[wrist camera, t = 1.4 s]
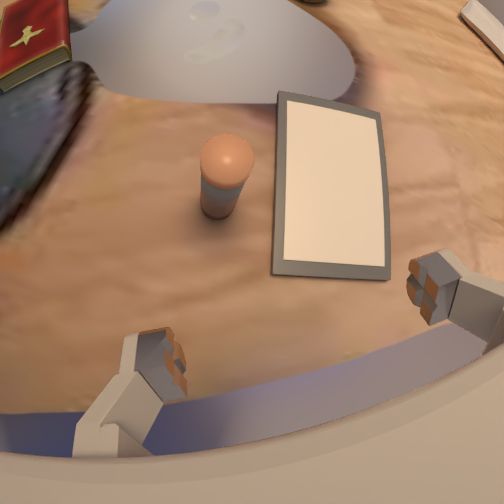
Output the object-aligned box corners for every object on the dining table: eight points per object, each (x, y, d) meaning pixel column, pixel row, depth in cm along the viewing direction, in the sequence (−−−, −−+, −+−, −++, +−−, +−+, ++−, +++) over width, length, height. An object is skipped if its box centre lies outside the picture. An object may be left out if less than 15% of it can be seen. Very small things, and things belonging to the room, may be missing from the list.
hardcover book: (69, -8, 35) (64, -23, 31) (74, 61, 34) (66, 43, 30) (11, 20, 33) (3, 6, 29) (3, 97, 31) (-10, 82, 27)
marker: (197, 219, 33) (197, 180, 22) (201, 185, 34) (203, 131, 22) (234, 222, 34) (253, 185, 22) (236, 188, 34) (255, 137, 23)
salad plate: (453, 17, 50) (461, 10, 46) (466, 1, 54) (472, -5, 51) (513, 80, 50) (521, 74, 47) (517, 53, 55) (523, 48, 51)
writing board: (270, 274, 34) (273, 273, 33) (276, 94, 37) (279, 89, 36) (386, 280, 36) (391, 279, 35) (376, 116, 39) (380, 112, 38)
